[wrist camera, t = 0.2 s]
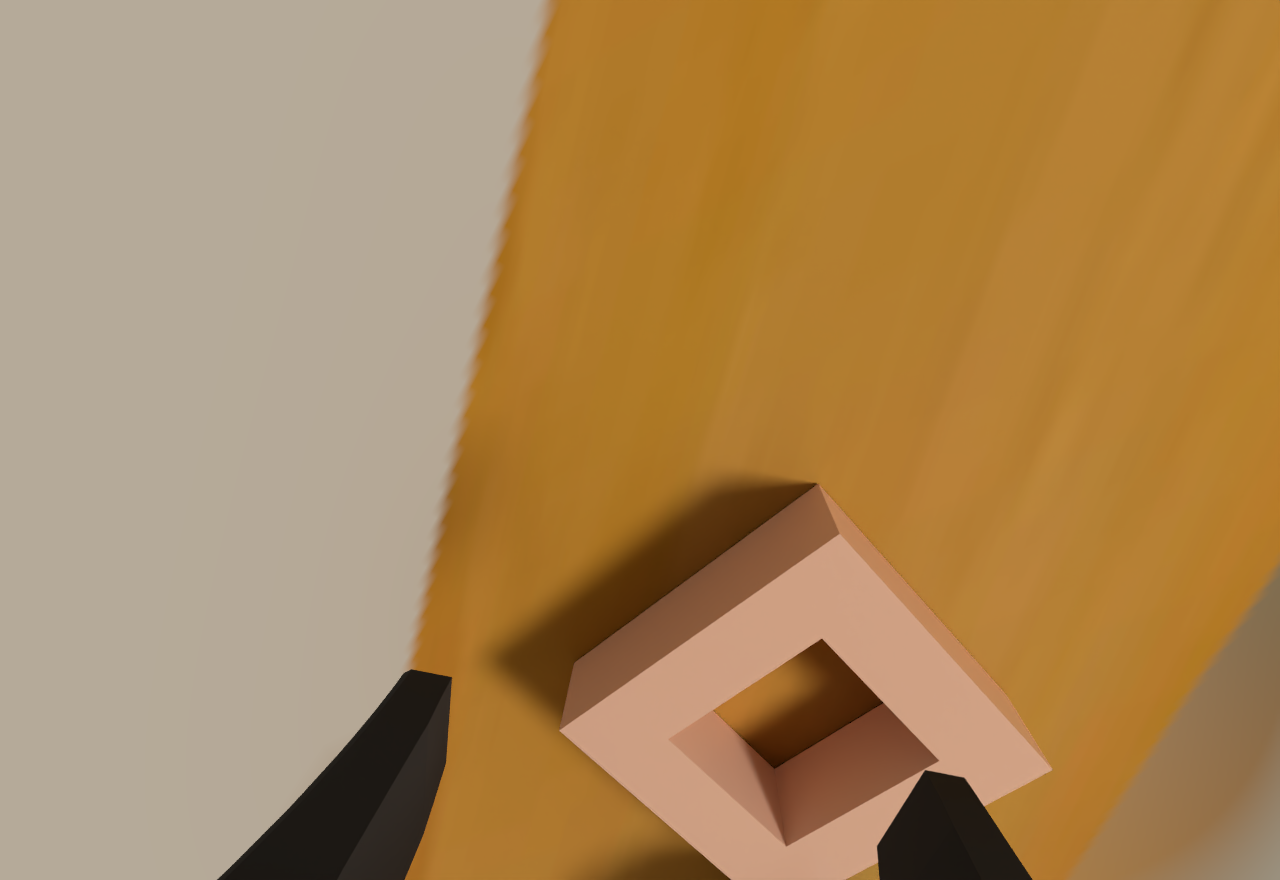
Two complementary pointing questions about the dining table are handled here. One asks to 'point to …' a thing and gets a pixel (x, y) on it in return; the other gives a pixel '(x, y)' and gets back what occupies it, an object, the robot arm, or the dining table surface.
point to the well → (756, 645)
